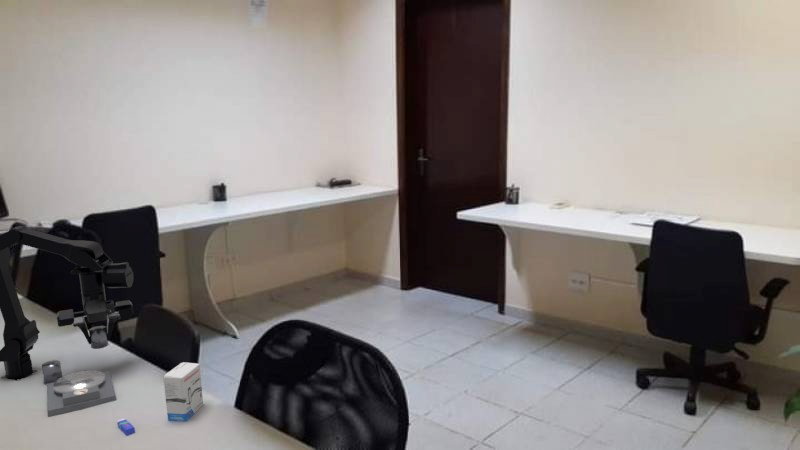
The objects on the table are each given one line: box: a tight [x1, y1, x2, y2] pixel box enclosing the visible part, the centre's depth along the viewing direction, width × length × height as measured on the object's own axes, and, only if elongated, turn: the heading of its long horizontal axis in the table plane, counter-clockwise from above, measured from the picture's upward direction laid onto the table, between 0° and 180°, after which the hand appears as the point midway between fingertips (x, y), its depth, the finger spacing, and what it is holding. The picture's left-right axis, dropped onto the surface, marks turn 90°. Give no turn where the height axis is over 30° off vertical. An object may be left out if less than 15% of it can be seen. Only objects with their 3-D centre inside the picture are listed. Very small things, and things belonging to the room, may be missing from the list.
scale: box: [46, 370, 117, 417], centre depth 159 cm, size 17×15×4 cm
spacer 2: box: [88, 325, 109, 350], centre depth 172 cm, size 4×4×5 cm
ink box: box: [163, 361, 204, 423], centre depth 147 cm, size 9×5×12 cm, turn 168°
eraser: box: [116, 417, 136, 436], centre depth 141 cm, size 2×6×2 cm, turn 43°
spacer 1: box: [41, 359, 63, 385], centre depth 167 cm, size 4×4×5 cm
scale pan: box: [53, 370, 105, 394], centre depth 160 cm, size 12×12×1 cm
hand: (99, 342), depth 172 cm, fingers closed on spacer 2, 4 cm apart
